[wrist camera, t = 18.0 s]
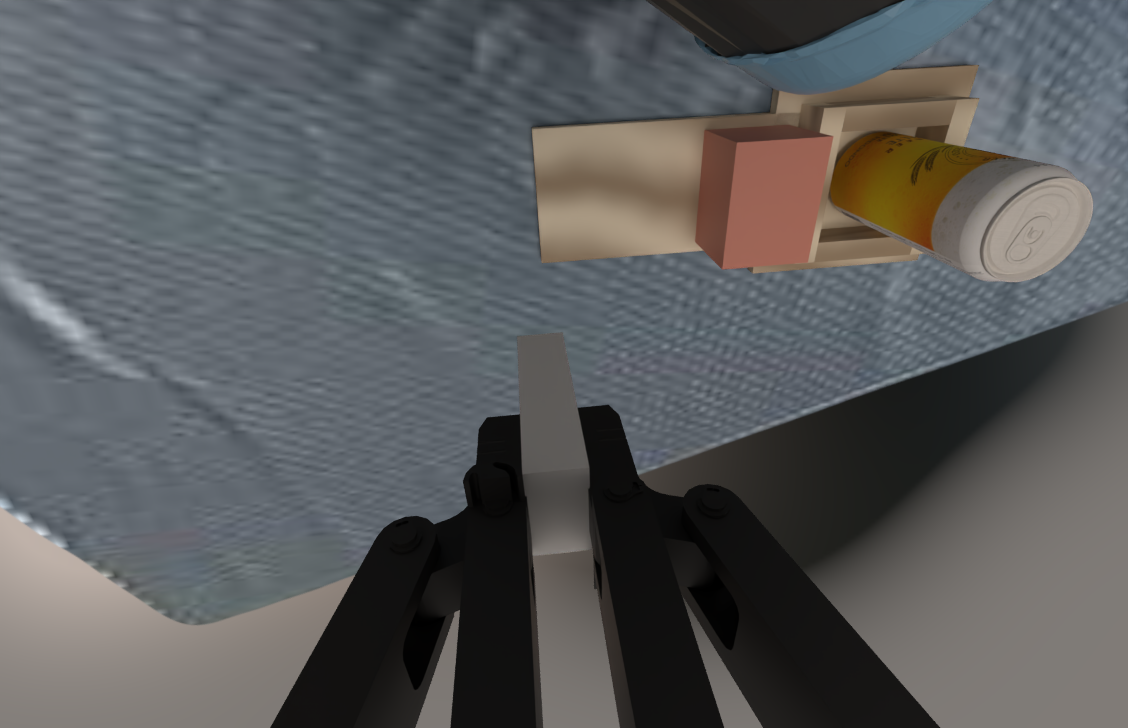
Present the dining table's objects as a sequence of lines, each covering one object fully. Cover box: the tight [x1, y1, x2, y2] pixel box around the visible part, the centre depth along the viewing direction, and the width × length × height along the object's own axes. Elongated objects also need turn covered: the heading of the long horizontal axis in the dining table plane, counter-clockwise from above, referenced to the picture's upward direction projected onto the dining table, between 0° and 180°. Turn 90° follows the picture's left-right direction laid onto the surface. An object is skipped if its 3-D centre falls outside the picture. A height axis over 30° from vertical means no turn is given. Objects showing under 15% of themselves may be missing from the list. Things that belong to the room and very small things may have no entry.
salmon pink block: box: [695, 125, 834, 269], centre depth 36 cm, size 8×6×6 cm
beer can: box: [830, 132, 1093, 282], centre depth 33 cm, size 6×6×15 cm
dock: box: [532, 65, 979, 273], centre depth 38 cm, size 14×31×4 cm, turn 93°
